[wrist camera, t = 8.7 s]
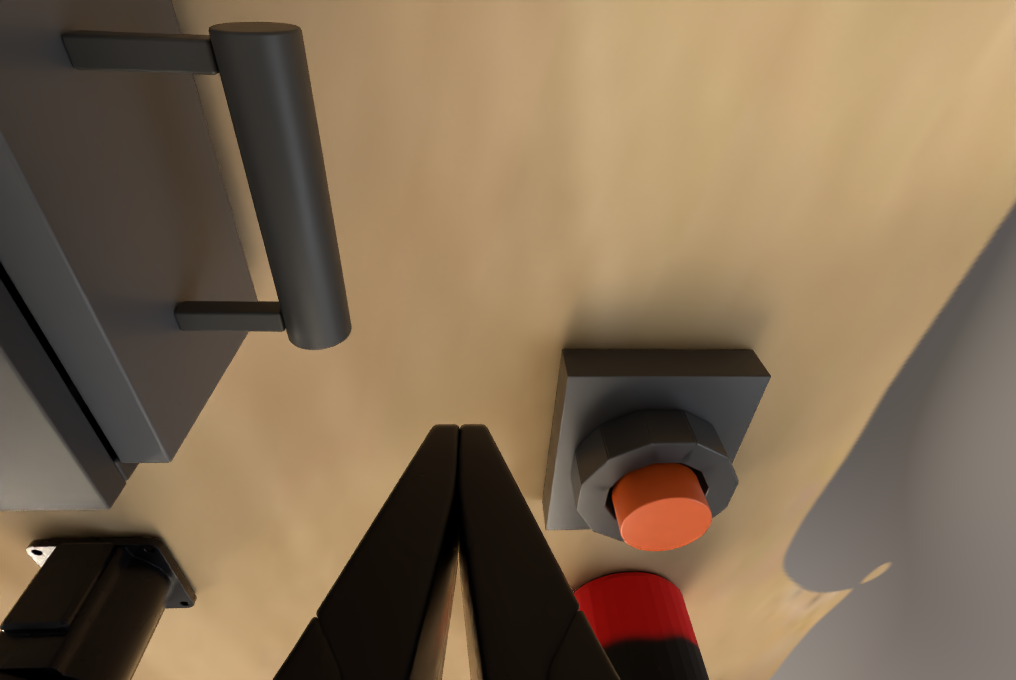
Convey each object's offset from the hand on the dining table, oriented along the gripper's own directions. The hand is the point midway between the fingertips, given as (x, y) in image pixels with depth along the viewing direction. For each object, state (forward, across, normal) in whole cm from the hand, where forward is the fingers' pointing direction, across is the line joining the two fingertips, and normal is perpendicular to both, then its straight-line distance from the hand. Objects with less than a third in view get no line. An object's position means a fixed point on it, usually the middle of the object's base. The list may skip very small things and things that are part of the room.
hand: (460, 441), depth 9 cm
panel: (+11, -8, +11) cm, 17 cm away
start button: (+8, -8, +11) cm, 16 cm away
